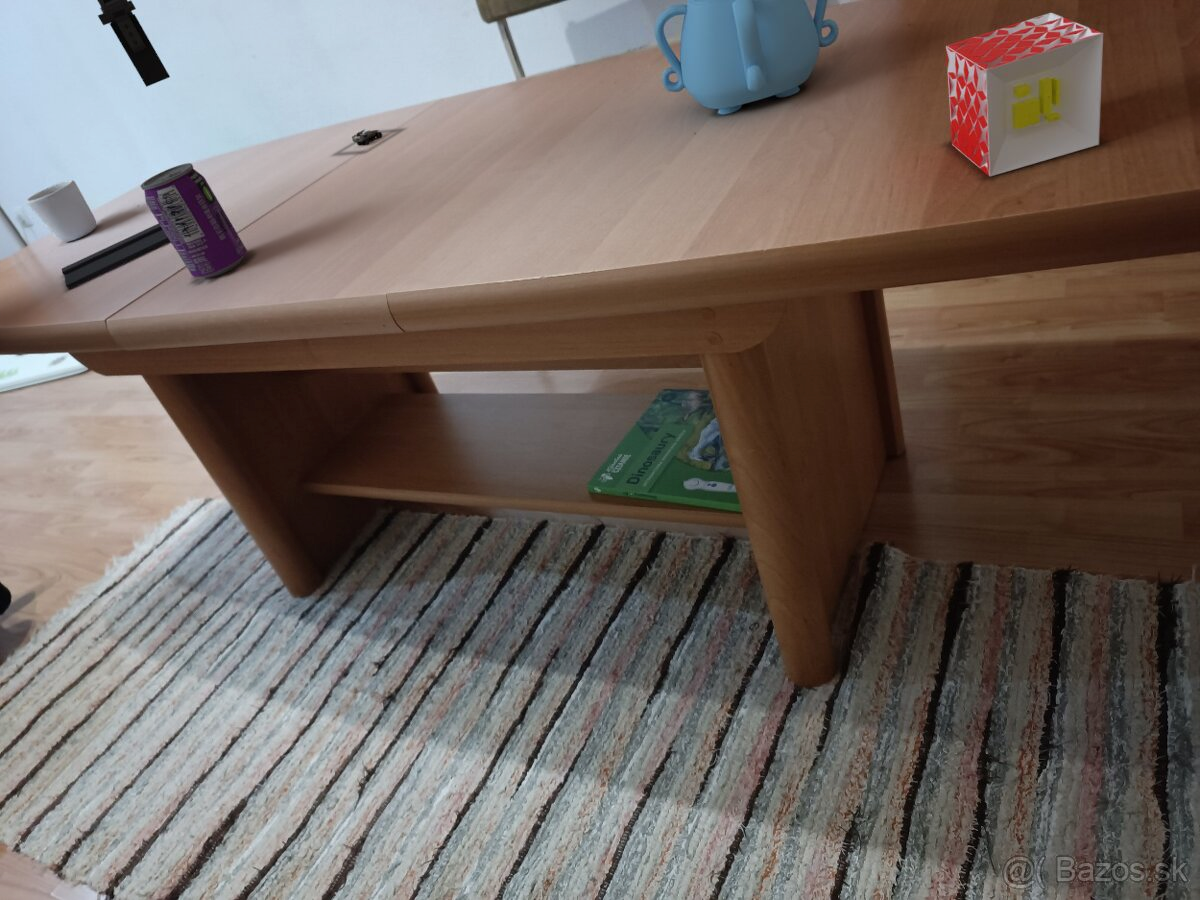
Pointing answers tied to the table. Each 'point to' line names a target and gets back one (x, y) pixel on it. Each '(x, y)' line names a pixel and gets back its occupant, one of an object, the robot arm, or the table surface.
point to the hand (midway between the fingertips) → (155, 77)
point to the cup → (63, 211)
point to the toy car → (366, 137)
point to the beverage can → (194, 221)
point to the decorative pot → (743, 49)
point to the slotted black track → (114, 256)
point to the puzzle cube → (1025, 93)
